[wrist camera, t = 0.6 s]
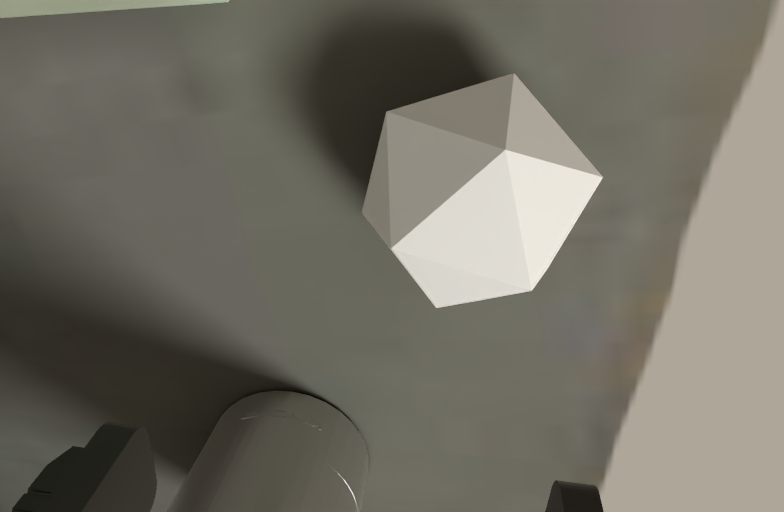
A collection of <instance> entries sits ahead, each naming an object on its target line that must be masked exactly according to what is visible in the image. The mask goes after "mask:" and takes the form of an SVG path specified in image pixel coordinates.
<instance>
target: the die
mask: <svg viewBox="0 0 784 512" xmlns="http://www.w3.org/2000/svg"><path fill="white" fill-rule="evenodd" d="M602 178H603V177H602V176H601V175H600V173H599V172H598V171H597V170H596V169H595V168H594V166H593V165H592V164H591V163H590V162H589V160H588V159H587V158H586V157H585V156H584V155H583V153H582V152H581V151H580V150H579V149H578V148H577V146H576V145H575V144H574V143H573V142H572V141H571V139H570V138H569V137H568V136H567V135H566V133H565V132H564V131H563V130H562V129H561V128H560V126H559V125H558V124H557V123H556V122H555V121H554V119H553V118H552V117H551V116H550V115H549V114H548V112H547V111H546V110H545V109H544V108H543V106H542V105H541V104H540V103H539V102H538V101H537V99H536V98H535V97H534V96H533V95H532V94H531V92H530V91H529V90H528V89H527V88H526V87H525V85H524V84H523V83H522V82H521V81H520V79H519V78H518V77H517V76H516V75H515V74H514V73H512V74H509V75H506V76H503V77H499V78H496V79H493V80H489V81H486V82H483V83H479V84H476V85H473V86H469V87H466V88H463V89H460V90H456V91H453V92H450V93H446V94H443V95H440V96H436V97H433V98H430V99H426V100H423V101H420V102H417V103H413V104H410V105H407V106H403V107H400V108H397V109H393V110H390V111H387V112H386V115H385V119H384V123H383V127H382V132H381V136H380V140H379V144H378V148H377V152H376V156H375V160H374V164H373V168H372V172H371V177H370V181H369V185H368V189H367V193H366V197H365V201H364V205H363V209H362V214H363V215H364V216H365V217H366V219H367V220H368V221H369V223H370V224H371V225H372V226H373V228H374V229H375V230H376V231H377V233H378V234H379V235H380V237H381V238H382V239H383V240H384V242H385V243H386V244H387V245H388V247H389V248H390V249H391V251H392V252H393V253H394V254H395V256H396V257H397V258H398V260H399V261H400V262H401V263H402V265H403V266H404V267H405V268H406V270H407V271H408V272H409V274H410V275H411V276H412V277H413V279H414V280H415V281H416V282H417V284H418V285H419V286H420V288H421V289H422V290H423V291H424V293H425V294H426V295H427V297H428V298H429V299H430V300H431V302H432V303H433V304H434V305H435V307H436V308H439V307H445V306H450V305H456V304H461V303H467V302H472V301H478V300H484V299H489V298H495V297H500V296H506V295H511V294H517V293H522V292H528V291H532V290H533V288H534V287H535V285H536V284H537V283H538V281H539V280H540V278H541V277H542V276H543V274H544V273H545V271H546V270H547V269H548V267H549V265H550V264H551V262H552V260H553V259H554V257H555V255H556V254H557V252H558V250H559V249H560V247H561V245H562V244H563V242H564V241H565V239H566V237H567V236H568V234H569V232H570V231H571V229H572V227H573V226H574V224H575V222H576V221H577V219H578V217H579V216H580V214H581V212H582V211H583V209H584V207H585V206H586V204H587V203H588V201H589V199H590V198H591V196H592V194H593V193H594V191H595V189H596V188H597V186H598V184H599V183H600V181H601V179H602Z"/></svg>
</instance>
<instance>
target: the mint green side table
mask: <svg viewBox="0 0 784 512" xmlns="http://www.w3.org/2000/svg"><path fill="white" fill-rule="evenodd" d="M223 2H229V0H0V18H8V17H23V16H37V15H51V14H66V13H80V12H94V11H109V10H123V9H137V8H152V7H166V6H180V5H195V4H209V3H223Z"/></svg>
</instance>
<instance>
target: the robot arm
mask: <svg viewBox="0 0 784 512" xmlns="http://www.w3.org/2000/svg"><path fill="white" fill-rule="evenodd" d="M368 469H369V457H368V451H367V447H366V445H365V443H364V440H363V438H362V436H361V434H360V433H359V431H358V430H357V429H356V427H355V426H354V424H353V423H352V422H351V421H350V420H349V419H348V418H347V417H346V416H344V415H343V414H342V413H341V412H340V411H339V410H337V409H335V408H334V407H332V406H331V405H329V404H327V403H326V402H324V401H321V400H319V399H316V398H314V397H312V396H309V395H305V394H300V393H296V392H292V391H268V392H261V393H256V394H253V395H250V396H247V397H245V398H242V399H241V400H239V401H238V402H236V403H234V404H233V405H231V406H230V407H229V408H228V409H227V410H226V411H225V412H224V413H223V415H222V416H221V417H220V419H219V421H218V423H217V424H216V426H215V428H214V430H213V431H212V433H211V435H210V437H209V438H208V440H207V442H206V444H205V446H204V447H203V449H202V451H201V453H200V454H199V456H198V458H197V460H196V461H195V463H194V465H193V466H192V468H191V470H190V471H189V473H188V475H187V477H186V478H185V480H184V482H183V484H182V485H181V487H180V489H179V491H178V493H177V494H176V496H175V498H174V500H173V501H172V503H171V505H170V507H169V509H168V510H167V512H361V508H362V503H363V498H364V492H365V487H366V482H367V477H368ZM156 487H157V480H156V473H155V467H154V462H153V456H152V450H151V444H150V438H149V433H148V431H147V429H146V428H145V427H138V426H131V425H123V424H116V423H105V424H104V425H102V426H101V427H100V428H99V429H98V431H97V432H96V433H95V435H94V436H93V437H92V439H91V440H90V441H89V443H88V444H87V445H86V447H85V448H82V447H75V446H73V447H71V448H70V449H69V450H67V451H66V452H64V453H63V454H62V455H60V456H59V457H58V458H56V459H55V460H53V461H52V462H51V463H49V464H48V465H47V466H46V467H45V468H44V469H43V471H42V472H41V473H40V474H39V476H38V477H37V478H36V479H35V481H34V482H33V483H32V484H31V486H30V487H29V488H28V492H27V494H24V495H23V496H22V497H21V498H20V500H19V501H18V502H17V503H16V505H15V506H14V507H13V508H12V509H13V510H12V512H150V510H151V508H152V505H153V502H154V498H155V494H156ZM545 512H603V507H602V504H601V499H600V495H599V491H598V489H597V487H596V486H594V485H587V484H579V483H572V482H564V481H557V480H556V481H555V482H554V483H553V486H552V489H551V493H550V497H549V500H548V504H547V508H546V511H545Z"/></svg>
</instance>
